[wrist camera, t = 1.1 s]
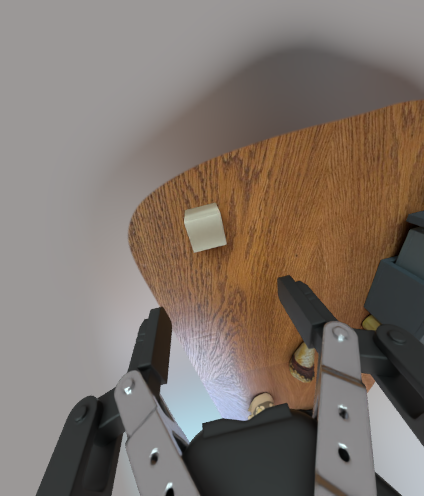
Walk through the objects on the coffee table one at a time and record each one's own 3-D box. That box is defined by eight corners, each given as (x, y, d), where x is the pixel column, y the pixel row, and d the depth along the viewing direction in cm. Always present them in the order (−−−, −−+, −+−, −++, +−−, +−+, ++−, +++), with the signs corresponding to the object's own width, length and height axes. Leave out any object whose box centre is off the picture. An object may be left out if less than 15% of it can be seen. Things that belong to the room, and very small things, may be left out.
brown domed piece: (265, 391, 67) (274, 389, 56) (280, 430, 60) (293, 437, 49) (241, 399, 66) (245, 399, 55) (252, 441, 59) (260, 450, 47)
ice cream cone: (335, 340, 38) (317, 387, 43) (316, 321, 43) (302, 365, 48) (309, 342, 37) (294, 390, 42) (294, 322, 43) (282, 366, 47)
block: (184, 210, 23) (183, 222, 19) (215, 202, 23) (220, 213, 19) (193, 237, 25) (194, 252, 21) (221, 230, 25) (226, 244, 21)
